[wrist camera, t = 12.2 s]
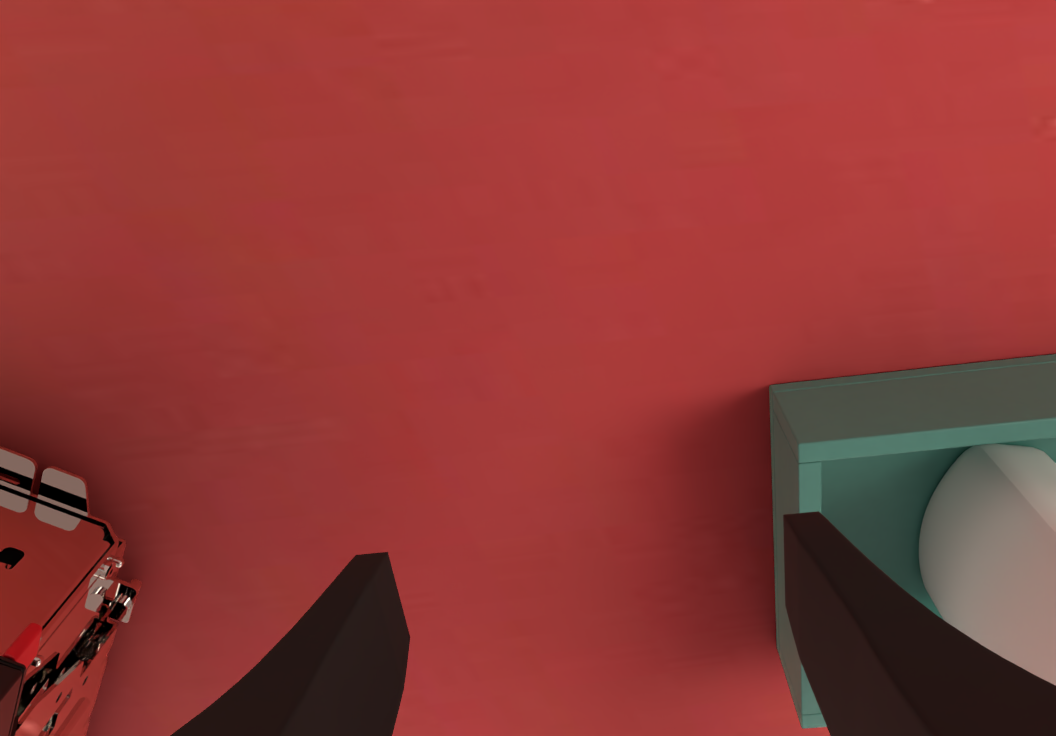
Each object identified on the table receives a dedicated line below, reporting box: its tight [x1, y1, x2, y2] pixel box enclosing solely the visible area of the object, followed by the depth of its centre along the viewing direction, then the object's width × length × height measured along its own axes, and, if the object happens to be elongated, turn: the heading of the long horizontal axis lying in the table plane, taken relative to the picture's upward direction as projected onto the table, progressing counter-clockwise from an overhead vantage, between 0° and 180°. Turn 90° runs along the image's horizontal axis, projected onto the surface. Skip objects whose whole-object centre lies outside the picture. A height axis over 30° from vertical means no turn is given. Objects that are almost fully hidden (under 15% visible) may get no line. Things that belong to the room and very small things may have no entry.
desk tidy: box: [769, 354, 1056, 728], centre depth 25 cm, size 10×12×4 cm
